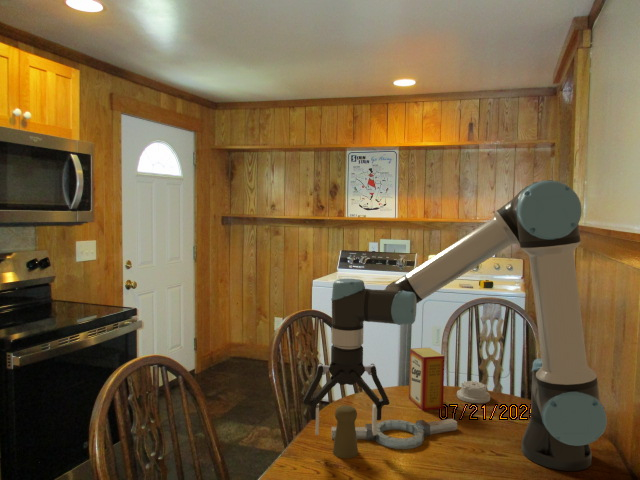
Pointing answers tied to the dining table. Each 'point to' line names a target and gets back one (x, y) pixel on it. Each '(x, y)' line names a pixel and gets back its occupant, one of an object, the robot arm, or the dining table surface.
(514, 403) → the dining table surface
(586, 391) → the robot arm
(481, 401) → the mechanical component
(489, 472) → the dining table surface
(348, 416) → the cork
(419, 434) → the grey flat ringed bar
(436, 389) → the baking soda box
